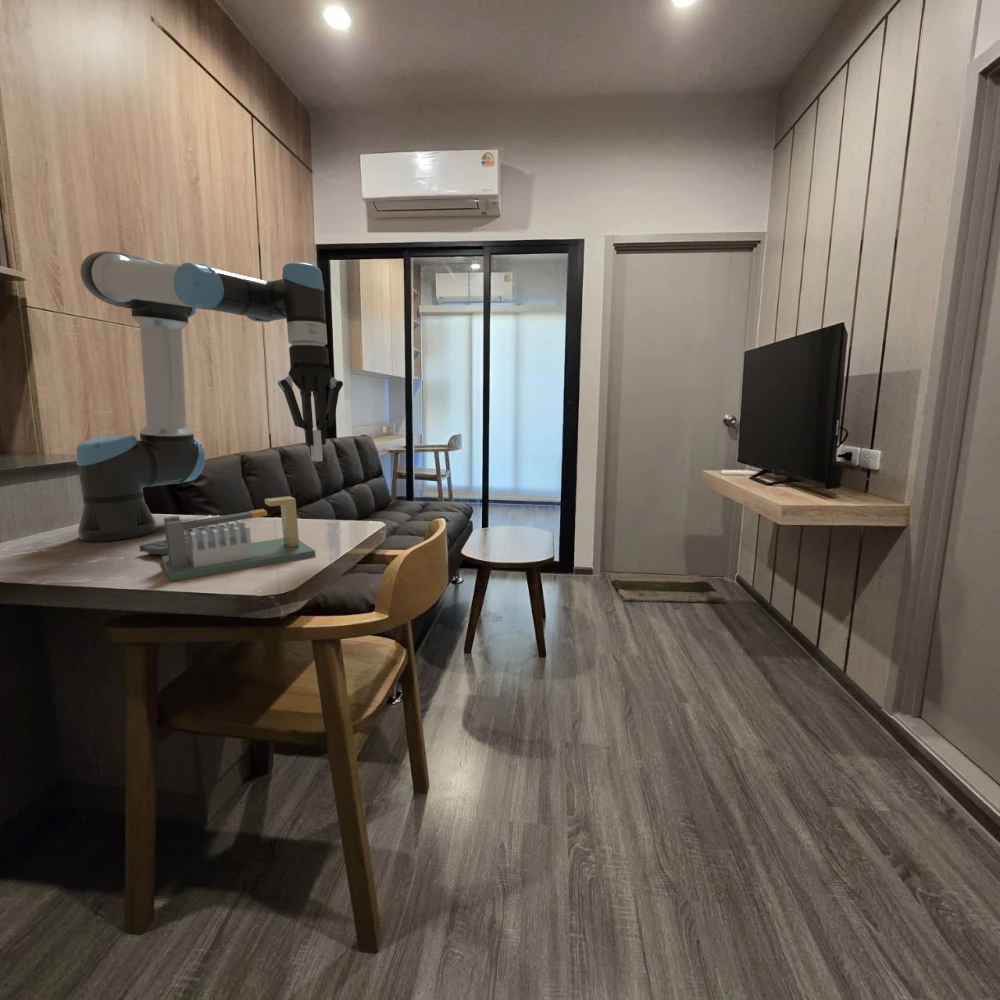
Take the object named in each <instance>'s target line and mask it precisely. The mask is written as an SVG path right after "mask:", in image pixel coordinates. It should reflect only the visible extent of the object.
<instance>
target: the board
mask: <svg viewBox="0 0 1000 1000" xmlns="http://www.w3.org/2000/svg"><path fill="white" fill-rule="evenodd" d="M163 522H164V523H163V525H164V532H165V539H166V541H167V549H168V555H161V560H162V564H163V567H164V569H165V572H166V573H167V576H168V577H169V581H170V582H176V581H177V582H178V581H183V580H189V579H195V578H200V577H205V576H211V575H216V574H222V573H228V572H234V571H235V572H236V571H240V570H246V569H250V568H252V569H253V568H256V567H262V566H263V567H264V566H268V565H274V564H280V563H285V562H290V561H297V560H300V559H301V560H302V559H306V558H313V557H312V556H314V557H316V550H315V549H314V548H312V547H310V546H308V545H307V543H304V542H303V541H301V540H299V546H295V547H288V546H287V545H285V544H284V540H283V537H281V538H276V539H275V538H274V539H269V540H261V541H256V542H252V539H251V538H252V537H251V528H250V527H249V526H248V525H247V524H246V523H244V522H243V520H237V521H235V524H234V523H233V521H231V522H225V525H224V524H223V523H220V524H215V526H213V525H208V526H206V531H207V533H206V531H205V530H204V529H203V528H202V527H197V528H195V531H193V528H191V529H186V530H184V528H183V523H184V522H183V520H180V516H179V515H177V516H170V517H163ZM214 527H216V529H217V530H216V529H215V528H214ZM195 533H196V534H195ZM184 535H186V541H185V536H184ZM196 535H197V539H196ZM185 542H186V545H185ZM186 551H187V553H186Z"/></svg>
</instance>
